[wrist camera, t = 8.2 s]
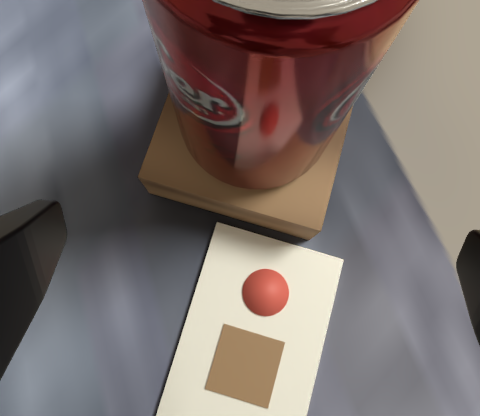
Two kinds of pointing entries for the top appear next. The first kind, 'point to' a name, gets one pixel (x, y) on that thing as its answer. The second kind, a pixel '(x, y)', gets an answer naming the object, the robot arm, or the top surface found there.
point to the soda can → (268, 77)
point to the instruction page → (252, 329)
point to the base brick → (234, 198)
